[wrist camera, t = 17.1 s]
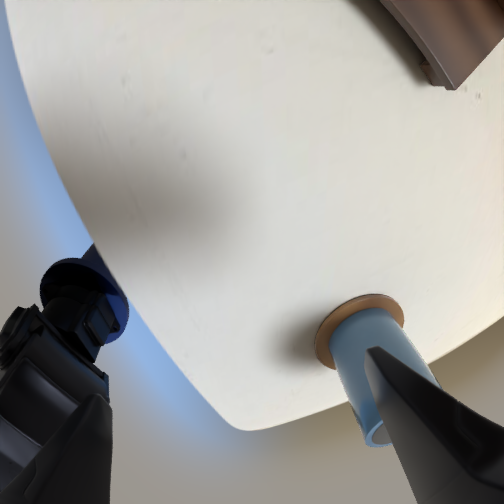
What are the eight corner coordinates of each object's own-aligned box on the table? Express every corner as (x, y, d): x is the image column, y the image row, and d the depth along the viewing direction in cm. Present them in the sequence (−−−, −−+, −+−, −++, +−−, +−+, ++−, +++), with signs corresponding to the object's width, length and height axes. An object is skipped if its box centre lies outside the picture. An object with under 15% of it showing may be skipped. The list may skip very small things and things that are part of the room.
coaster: (317, 376, 28) (318, 380, 28) (310, 310, 24) (311, 313, 24) (397, 351, 28) (398, 354, 28) (405, 282, 24) (408, 285, 24)
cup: (313, 347, 25) (347, 443, 16) (369, 294, 23) (429, 383, 14) (355, 370, 28) (391, 450, 19) (406, 326, 26) (457, 402, 17)
